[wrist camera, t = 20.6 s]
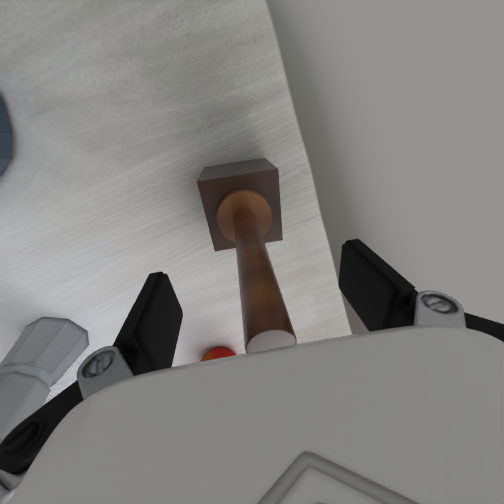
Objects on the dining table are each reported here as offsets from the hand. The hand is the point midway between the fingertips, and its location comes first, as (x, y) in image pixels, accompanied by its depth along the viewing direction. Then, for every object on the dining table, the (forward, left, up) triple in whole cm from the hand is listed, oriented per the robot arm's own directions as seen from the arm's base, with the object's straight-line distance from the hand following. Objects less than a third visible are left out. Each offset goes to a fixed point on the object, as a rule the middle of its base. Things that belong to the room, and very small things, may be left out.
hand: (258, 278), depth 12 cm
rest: (0, 0, -17) cm, 17 cm away
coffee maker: (+19, -33, -17) cm, 41 cm away
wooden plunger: (0, 0, -10) cm, 10 cm away
